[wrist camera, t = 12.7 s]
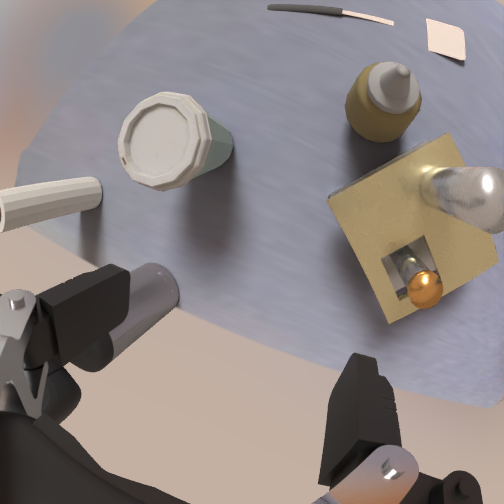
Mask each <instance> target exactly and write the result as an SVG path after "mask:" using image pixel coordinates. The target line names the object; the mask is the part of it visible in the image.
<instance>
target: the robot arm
mask: <svg viewBox="0 0 504 504" xmlns="http://www.w3.org/2000/svg"><path fill="white" fill-rule="evenodd" d="M178 299H179V291H178V286H177V283H176V281H175V279H174V277H173V276H172V275H171V273H170V272H169V271H168V270H167V269H165V268H164V267H162V266H161V265H158V264H155V263H147V264H145V265H143V266H141V267H139V268H137V269H135V270H133V271H131V272H129V271H127V270H125V269H123V268H120V267H118V266H116V265H114V264H108V265H106V266H104V267H102V268H99V269H97V270H95V271H93V272H87V273H83V274H81V275H79V276H76V277H74V278H73V279H70V280H68V281H66V282H65V283H61V284H59V285H57V286H55V287H53V288H51V289H48V290H46V291H44V292H42V293H40V294H38V295H36V296H35V295H34V294H33V293H31V292H29V291H26V290H21V289H17V290H11V291H8V292H6V293H4V294H3V295H2V294H0V504H190V503H187V502H185V501H183V500H180V499H178V498H176V497H174V496H171V495H169V494H167V493H165V492H163V491H161V490H159V489H157V488H155V487H151V486H148V485H144V484H141V483H138V482H135V481H132V480H129V479H126V478H123V477H120V476H117V475H114V474H111V473H109V472H107V471H105V470H104V469H102V468H101V467H100V466H99V465H98V463H97V462H96V461H94V459H93V458H92V457H91V456H90V455H89V454H88V453H87V451H86V450H85V449H84V448H83V447H82V446H81V444H80V443H79V442H78V441H77V440H76V438H75V437H74V436H72V435H71V434H70V433H69V432H67V431H66V430H65V429H64V428H62V427H61V426H60V425H59V424H60V423H61V422H62V421H63V420H65V419H66V418H67V417H68V416H69V415H70V414H71V413H72V411H73V410H74V409H75V408H76V407H77V405H78V403H79V401H80V399H81V389H80V387H79V386H78V384H77V383H76V382H75V380H74V379H73V378H72V377H71V375H70V374H69V373H68V372H67V370H66V369H65V368H64V367H63V366H64V365H66V364H67V363H68V362H71V363H72V364H74V365H75V366H77V367H79V368H81V369H83V370H85V371H88V372H97V371H100V370H101V369H103V368H104V367H105V366H107V365H108V364H109V363H110V362H111V361H112V360H114V359H115V358H116V357H117V356H118V355H119V354H121V353H122V352H123V351H124V350H125V349H126V348H127V347H129V346H130V345H131V344H132V343H133V342H135V341H136V340H137V339H138V338H139V337H140V336H142V335H143V334H144V333H145V332H146V331H147V330H149V329H150V328H151V327H152V326H153V325H155V324H156V323H157V322H158V321H159V320H161V319H162V318H163V317H164V316H165V315H166V314H168V313H169V312H170V311H171V310H172V309H173V308H175V306H176V305H177V302H178ZM394 401H395V398H394V393H393V388H392V386H391V385H390V383H389V382H388V380H387V379H386V377H384V376H380V375H379V373H378V367H377V361H376V359H375V358H372V357H368V356H365V355H361V354H358V353H353V354H352V355H351V357H350V358H349V360H348V362H347V364H346V366H345V368H344V370H343V372H342V374H341V375H340V377H339V379H338V381H337V383H336V384H335V387H334V388H333V390H332V393H331V396H330V399H329V403H328V412H327V422H326V431H325V439H324V447H323V454H322V461H321V468H320V474H319V481H318V484H321V485H325V486H330V489H329V492H328V493H326V494H325V495H324V496H322V497H320V498H319V499H317V500H316V501H315V502H313V503H312V504H483V501H482V495H481V489H480V485H479V483H478V482H477V480H476V479H475V477H474V476H472V475H471V474H469V473H468V472H465V471H454V472H452V473H450V474H449V475H448V476H447V477H445V478H444V479H443V480H440V479H437V478H434V477H431V476H429V475H426V474H423V473H421V472H419V467H418V463H417V461H416V460H415V458H414V456H413V455H412V454H411V453H410V452H408V451H407V450H405V449H404V448H402V444H401V436H400V429H399V422H398V415H397V413H396V410H397V409H396V404H395V402H394Z"/></svg>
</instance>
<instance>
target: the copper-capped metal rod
mask: <svg viewBox="0 0 504 504" xmlns="http://www.w3.org/2000/svg"><path fill="white" fill-rule="evenodd" d="M388 256H389V258H390V259H391V261H392V263H393V265H394V266H395V268H396V270H397V272H398V273H399V275H400V277H401V279H402V281H403V282H404V284H405V286H406V288H407V293H408V296H409V298H410V300H411V302H412V304H413V305H414V306H415V307H417V308H420V309H428V308H431V307H433V306H434V305H435V304H437V303H438V301H439V300H440V299H441V297H442V294H443V283H442V281H441V279H440V278H439V277H438V276H437V274H436V273H434V272H433V271H430V270H429V268H428V267H427V266H426V265H425V264H424V263H423V261H422V260H421V259H420V258H419V257H418V256H417V255H416V254H415V252H414V251H413V250H412V249H411V248H410V247H409V246H408V245H405V246H403V247H402V248H400V249H398V250H396V251H394V252H392V253H391V254H389V255H388Z"/></svg>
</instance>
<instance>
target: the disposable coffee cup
mask: <svg viewBox="0 0 504 504" xmlns="http://www.w3.org/2000/svg"><path fill="white" fill-rule="evenodd" d="M117 143H118V149H119V155H120V160H121V163H122V165H123V168H124V169H125V170H126V172H127V173H128V174H129V176H130V177H131V178H132V180H133V181H136V182H138V183H139V184H141V185H144V186H147V187H150V188H152V189H155V190H158V191H166V190H170V189H174V188H178V187H182V186H185V185H186V184H187V183H188V182H189V181H190V180H191V179H193V178H195V177H197V176H200V175H202V174H204V173H206V172H208V171H210V170H213V169H215V168H217V167H219V166H221V165H222V164H223V163H224V162H225V161H226V160H227V159H228V158H229V157H230V155H231V152H232V148H233V140H232V135H231V132H230V131H229V130H228V129H227V128H226V127H225V126H224V125H223V124H222V123H221V122H220V121H219V120H217V119H216V118H215V117H214V116H212V115H211V114H210V113H209V112H207V111H206V110H205V109H204V108H202V107H201V106H200V105H199V104H198V103H197V102H196V101H195V100H194V99H193V98H192V97H191V96H189V95H184V94H179V93H173V92H161V93H159V94H156V95H154V96H152V97H150V98H147V99H145V100H143V101H142V102H141V103H139V104H138V105H137V106H136V107H135V108H134V110H133V111H132V112H131V113H130V114H129V115H128V116H127V118H126V119H125V120H124V122H123V126H122V129H121V132H120V135H119V139H118V142H117Z"/></svg>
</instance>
